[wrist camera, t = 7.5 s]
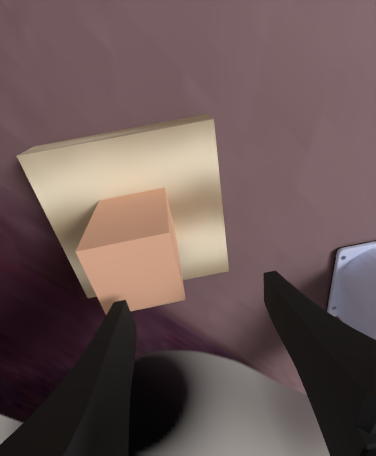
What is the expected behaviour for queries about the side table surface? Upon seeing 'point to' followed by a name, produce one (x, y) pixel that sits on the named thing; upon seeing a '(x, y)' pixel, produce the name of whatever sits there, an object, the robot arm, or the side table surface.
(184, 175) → the birch base
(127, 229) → the terracotta block
